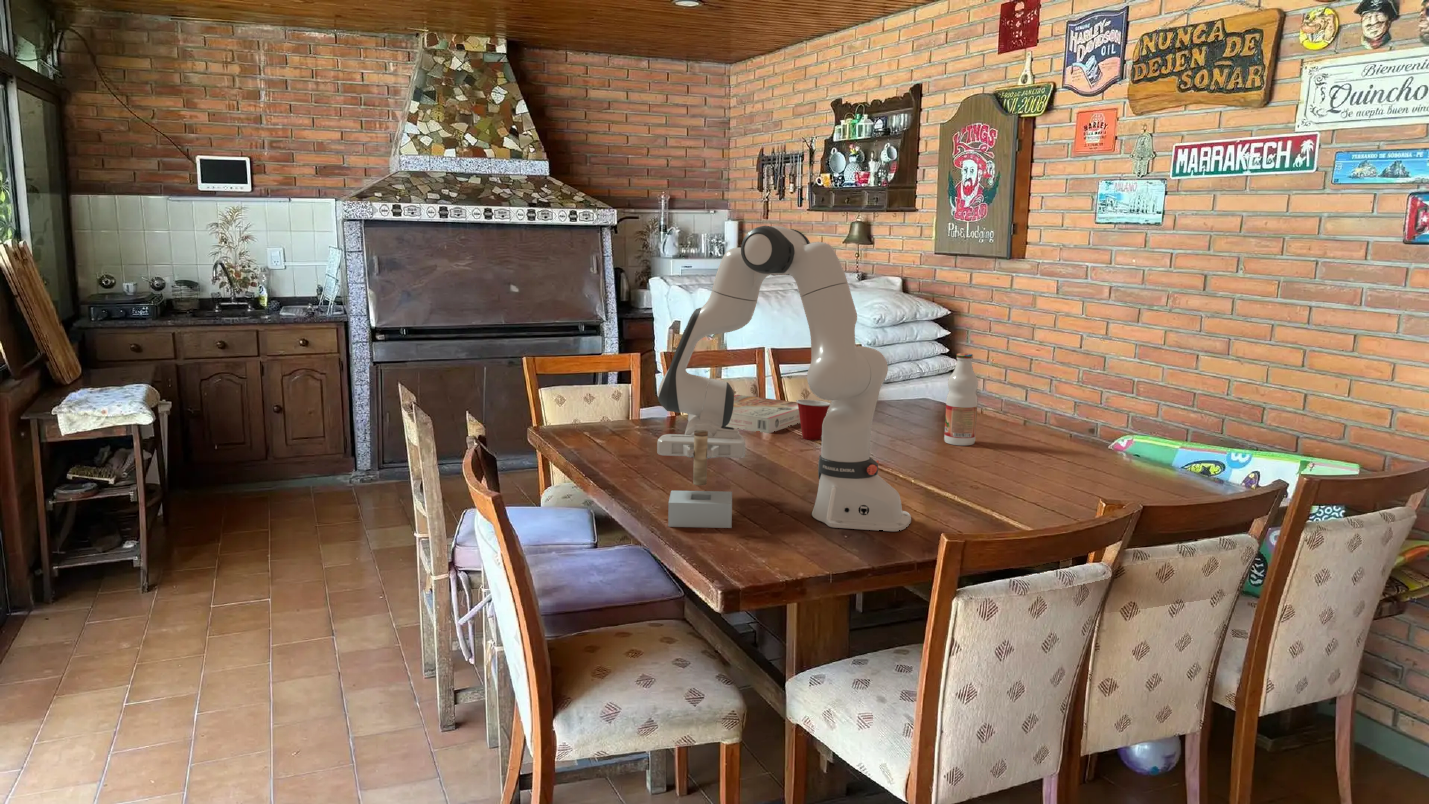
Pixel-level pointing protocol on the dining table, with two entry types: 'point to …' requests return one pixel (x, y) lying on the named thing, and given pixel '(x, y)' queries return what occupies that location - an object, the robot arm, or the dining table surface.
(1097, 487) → the dining table surface
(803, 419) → the plastic cup
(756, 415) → the pizza box
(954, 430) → the fruit juice
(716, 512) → the socket block
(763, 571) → the dining table surface
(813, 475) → the dining table surface
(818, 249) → the robot arm
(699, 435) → the dowel pin
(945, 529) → the dining table surface
